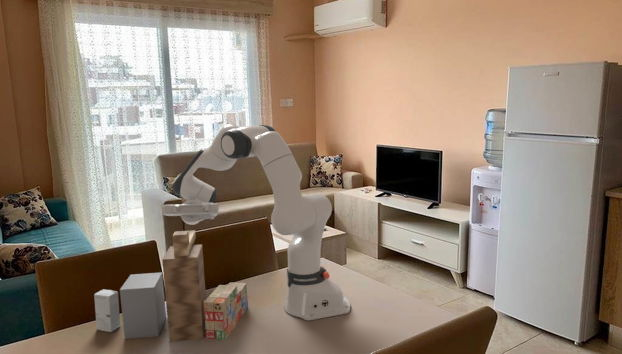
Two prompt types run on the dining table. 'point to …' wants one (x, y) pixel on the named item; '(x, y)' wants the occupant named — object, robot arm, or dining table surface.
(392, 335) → the dining table surface
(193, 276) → the tall stand
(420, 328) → the dining table surface
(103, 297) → the skincare box
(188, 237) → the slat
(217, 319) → the stack of blocks
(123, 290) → the pale grey upright box
